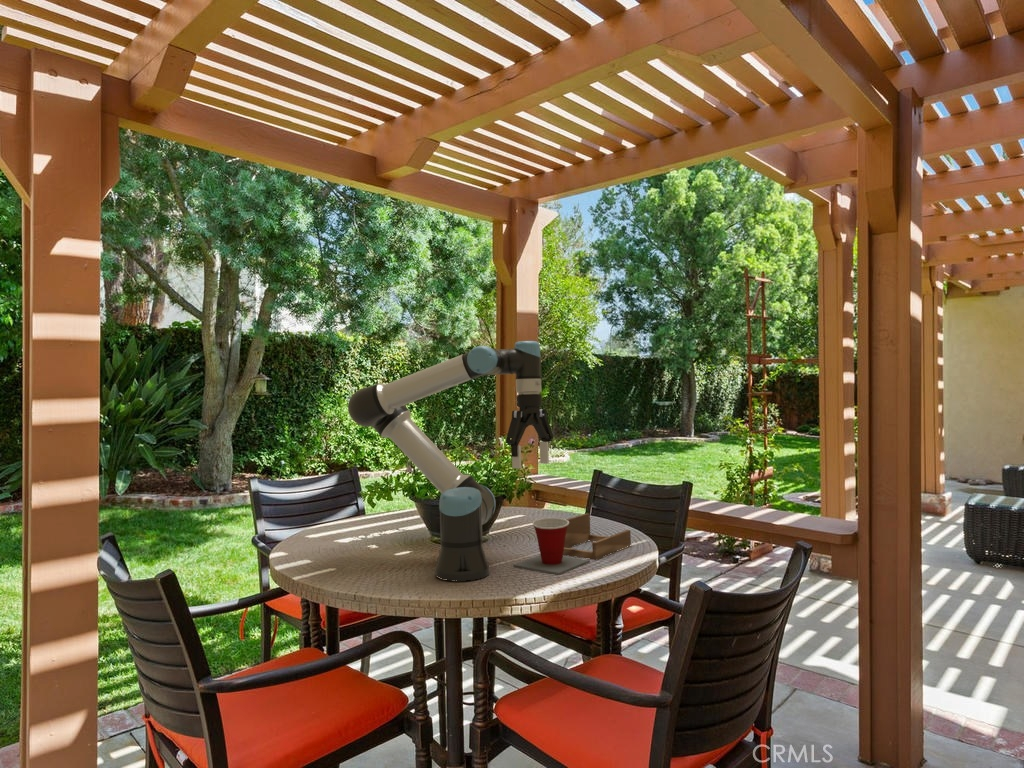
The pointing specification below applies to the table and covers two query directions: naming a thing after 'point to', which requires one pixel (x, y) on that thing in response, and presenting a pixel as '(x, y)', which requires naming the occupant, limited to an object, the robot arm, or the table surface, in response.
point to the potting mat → (557, 569)
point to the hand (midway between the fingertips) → (531, 465)
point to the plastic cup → (551, 538)
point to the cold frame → (592, 539)
